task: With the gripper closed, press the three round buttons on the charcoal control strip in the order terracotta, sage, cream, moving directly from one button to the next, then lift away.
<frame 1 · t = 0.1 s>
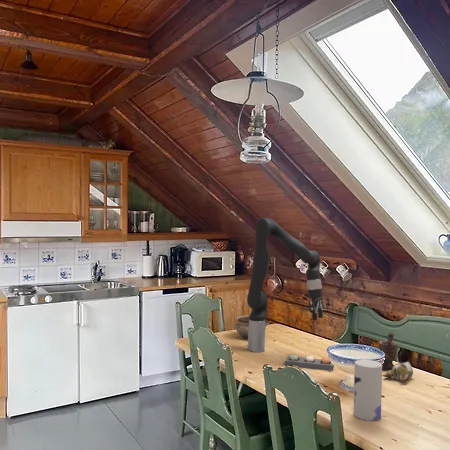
hand: (318, 319, 248), 22 cm above the table, fingers open, 8 cm apart
cooking pot: (250, 338, 296), on the table
ceramic sculpture: (400, 380, 222), on the table
sage button: (293, 357, 243), point 3 cm above the table, slide at 0.0 cm
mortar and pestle: (389, 369, 237), on the table
container: (367, 416, 179), on the table
terracotta button: (325, 361, 238), point 3 cm above the table, slide at 0.0 cm
cream button: (309, 359, 241), point 3 cm above the table, slide at 0.0 cm
control strip: (309, 365, 241), on the table
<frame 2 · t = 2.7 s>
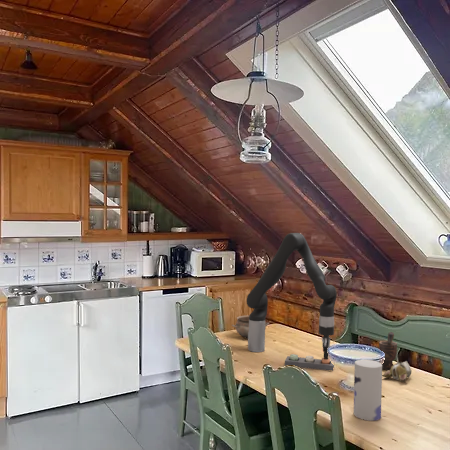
hand: (325, 359, 238), 4 cm above the table, fingers closed
terracotta button: (325, 361, 238), point 3 cm above the table, slide at 0.3 cm, touching gripper
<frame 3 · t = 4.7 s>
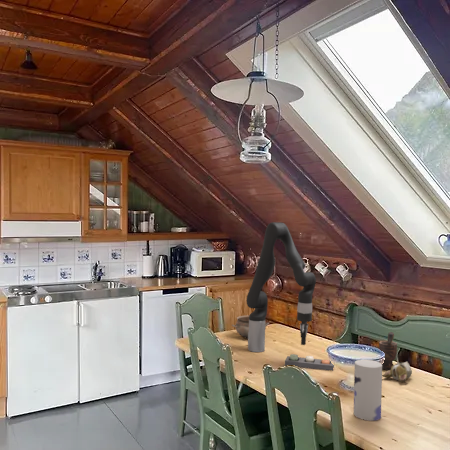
hand: (303, 344, 242), 10 cm above the table, fingers closed
terracotta button: (325, 363, 238), point 2 cm above the table, slide at 1.1 cm
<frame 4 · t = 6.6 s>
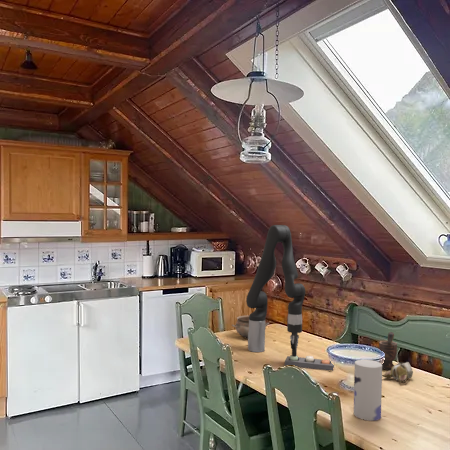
hand: (294, 356, 243), 4 cm above the table, fingers closed
sage button: (293, 358, 243), point 3 cm above the table, slide at 0.4 cm, touching gripper
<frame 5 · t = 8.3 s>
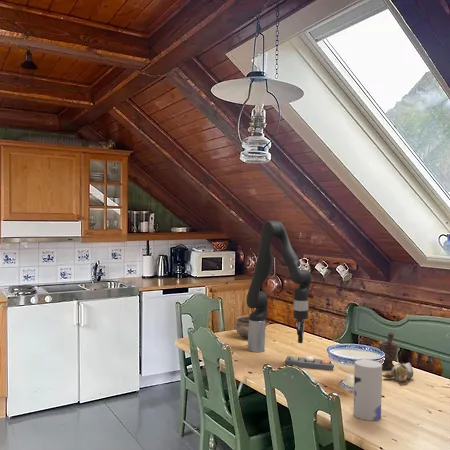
hand: (300, 342, 241), 11 cm above the table, fingers closed
sage button: (293, 360, 243), point 2 cm above the table, slide at 1.1 cm
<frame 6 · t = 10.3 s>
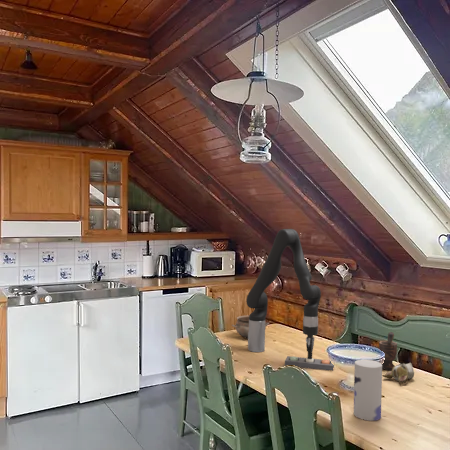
hand: (309, 358, 240), 4 cm above the table, fingers closed
cream button: (309, 361, 241), point 2 cm above the table, slide at 0.9 cm, touching gripper
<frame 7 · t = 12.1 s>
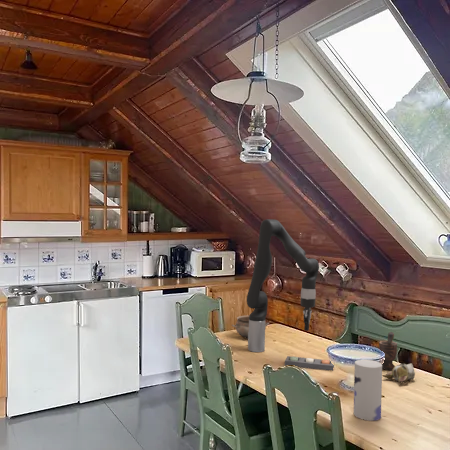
hand: (306, 330, 245), 17 cm above the table, fingers closed
cream button: (309, 361, 241), point 2 cm above the table, slide at 1.1 cm
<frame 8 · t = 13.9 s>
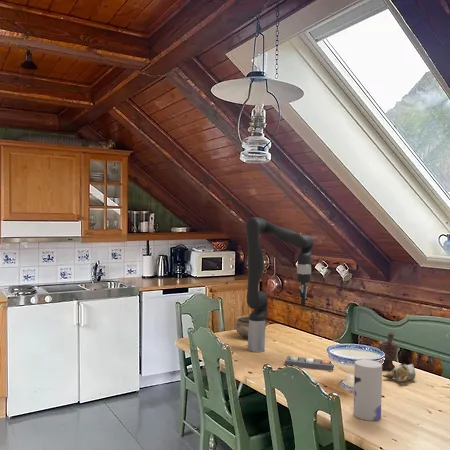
hand: (303, 305, 251), 29 cm above the table, fingers closed
at the end: terracotta button slide at 1.1 cm; sage button slide at 1.1 cm; cream button slide at 1.1 cm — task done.
